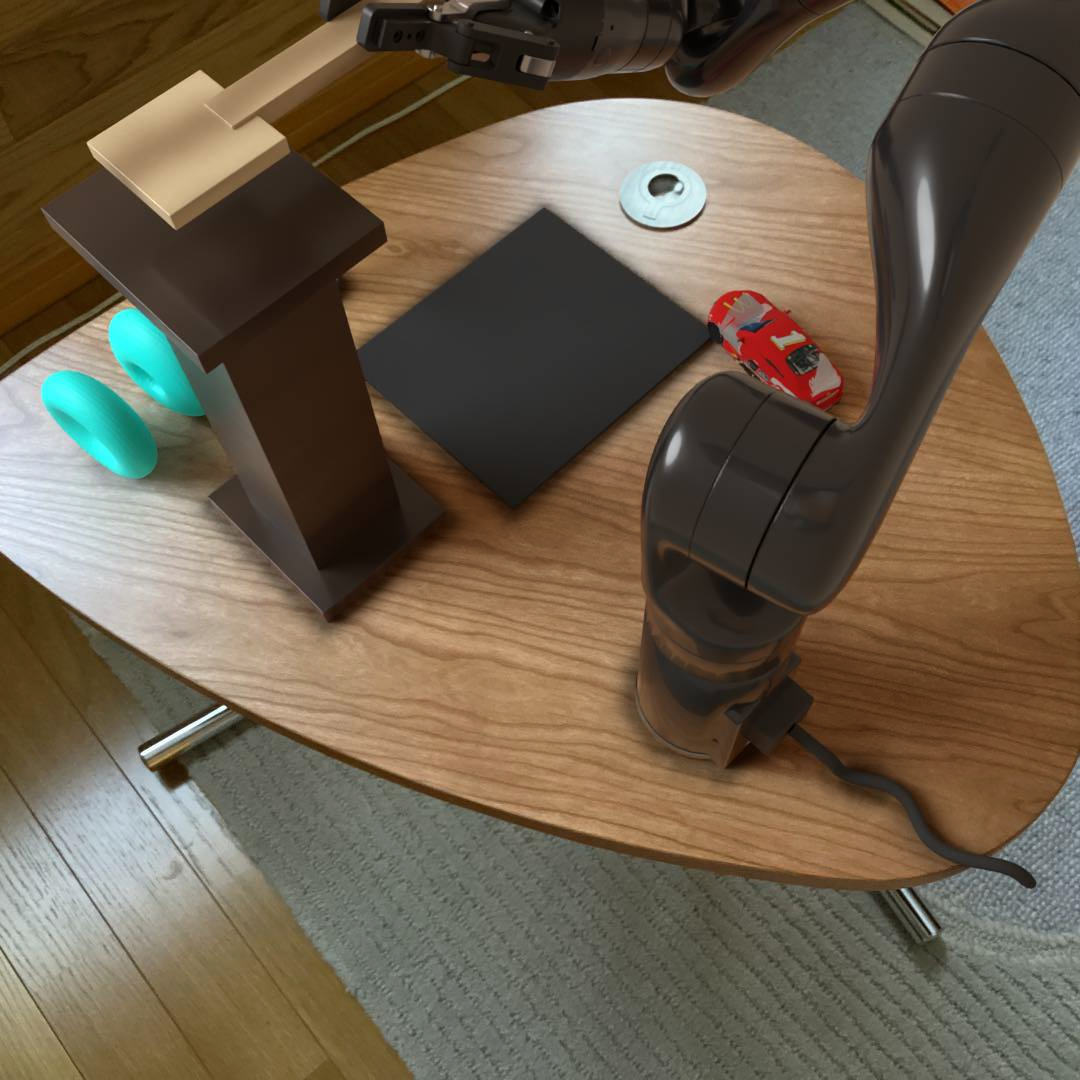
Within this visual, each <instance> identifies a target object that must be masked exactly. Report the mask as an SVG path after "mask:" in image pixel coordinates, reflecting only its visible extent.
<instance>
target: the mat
mask: <svg viewBox="0 0 1080 1080" xmlns="http://www.w3.org/2000/svg"><path fill="white" fill-rule="evenodd" d="M711 340H713V339H712V338H711V336H710V334H709V330H708V327H707V325H705V324H704V323H703V322H701V321H700V320H698V319H697V318H695V317H694V316H693V315H692V314H690V313H689V312H688V311H686V310H685V309H684V308H682V307H680V305H678V304H677V303H675V302H674V301H673V300H671V299H670V298H669V297H667V296H666V295H665V294H663V293H662V292H661V291H660V290H658V289H656V288H655V287H654V286H652V285H651V284H649V282H647V281H645V280H644V279H643V278H642V277H640V276H639V275H637V274H636V273H635V272H634V271H632V270H631V269H629V268H628V267H626V266H625V265H624V264H623V263H621V262H620V261H618V260H617V259H616V258H614V256H612V255H610V254H609V253H608V252H606V251H605V250H603V249H602V248H601V247H599V245H597V244H595V243H594V242H592V240H589V239H588V238H587V237H585V235H583V234H582V233H580V232H579V231H578V230H576V229H575V228H574V227H572V226H571V225H570V224H568V223H567V222H565V221H564V220H563V219H561V218H560V217H559V216H557V215H556V214H555V213H554V212H552V211H550V210H549V209H548V208H546V207H545V206H543V207H542V208H541V209H539V210H538V211H537V212H536V213H534V214H533V215H532V216H530V217H529V218H528V219H526V220H525V221H523V222H522V223H521V224H519V225H518V226H517V227H516V228H514V229H513V230H512V231H511V232H509V233H508V234H507V235H505V236H504V237H503V238H501V239H500V240H499V241H497V242H496V243H494V245H492V246H491V247H489V249H487V250H486V251H485V252H483V253H482V254H481V255H479V256H478V257H476V258H475V259H474V260H473V261H472V262H470V263H469V264H467V265H466V266H465V267H464V268H463V269H461V270H459V271H458V272H457V273H456V274H454V275H453V276H452V277H450V278H449V279H448V280H446V281H445V282H444V283H443V284H441V285H440V286H439V287H438V288H436V289H434V291H432V292H431V293H429V294H428V295H427V296H425V297H424V298H423V299H422V300H421V301H419V302H418V303H416V304H415V305H414V306H413V307H411V308H410V309H409V310H407V311H406V312H405V313H404V314H402V315H401V316H399V317H398V318H397V319H396V320H394V321H393V322H392V323H390V324H389V325H388V326H387V327H385V328H384V329H382V330H381V331H380V332H378V333H377V334H376V335H375V336H373V337H372V338H371V339H369V340H368V341H367V342H365V343H364V344H363V345H362V346H360V347H359V348H358V349H356V351H357V354H358V358H359V361H360V365H361V368H362V372H363V375H364V379H365V382H366V383H367V384H369V386H371V387H372V388H373V389H374V390H376V391H377V392H378V393H379V394H380V395H382V396H383V398H385V399H386V400H387V401H388V402H389V403H390V404H391V405H393V406H394V408H396V409H397V410H398V411H400V412H401V413H402V414H403V415H404V416H405V417H406V418H408V419H409V420H410V421H411V422H412V423H413V424H414V425H415V426H417V428H419V430H421V431H422V432H423V433H424V434H426V435H427V436H428V437H430V439H431V440H433V441H434V442H435V444H437V445H438V446H439V447H440V448H442V449H443V450H444V451H445V452H446V453H448V454H449V456H451V458H453V459H454V460H455V461H456V462H457V463H459V464H460V465H461V467H463V468H464V469H466V470H467V472H469V473H470V474H471V475H472V476H474V478H476V480H478V481H479V482H480V483H481V484H482V485H484V486H485V487H486V488H487V489H488V490H489V491H491V492H492V493H493V494H494V495H495V496H496V497H497V498H499V499H500V500H501V501H502V502H503V503H504V504H505V505H506V506H507V507H509V508H510V509H511V510H512V511H516V510H517V509H518V508H519V507H520V506H521V505H523V504H524V503H525V502H526V501H528V499H530V498H531V497H532V496H533V495H534V494H535V493H536V492H538V491H539V490H540V489H541V488H543V487H544V486H545V485H546V484H547V483H548V482H549V481H550V480H552V479H553V478H554V477H555V476H556V475H557V474H559V472H561V471H562V470H563V469H564V468H566V467H567V465H569V464H570V463H571V462H572V461H573V460H574V459H576V458H577V457H578V456H579V455H581V454H582V452H584V451H585V450H586V449H587V448H588V447H590V446H591V445H592V444H593V443H594V442H595V441H597V440H598V439H599V438H600V437H602V435H603V434H604V433H606V432H607V431H608V430H609V429H610V428H611V427H612V426H614V425H615V424H616V423H617V422H618V421H619V420H621V419H622V418H623V417H624V416H625V415H626V414H627V413H629V412H630V411H631V410H632V409H633V408H635V407H636V406H637V405H638V404H639V403H641V401H643V399H645V398H646V397H647V396H649V394H651V393H652V392H653V391H654V390H655V389H656V388H658V386H660V385H661V384H662V383H663V382H665V380H667V379H668V378H669V377H670V376H671V375H672V374H674V373H675V372H676V371H677V370H678V369H679V368H681V367H682V366H683V365H684V364H685V363H687V361H689V360H690V359H691V358H692V357H694V355H696V354H697V353H698V352H699V351H700V350H701V349H702V348H704V347H705V346H706V345H707V344H708V343H709V342H710V341H711Z"/></svg>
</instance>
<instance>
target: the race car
mask: <svg viewBox="0 0 1080 1080" xmlns="http://www.w3.org/2000/svg"><path fill="white" fill-rule="evenodd" d="M791 311H792V309H786V310H784V311H782V310H781V309H779V308H778V307H777V306H776V305H774V304H773V303H772V302H771V301H770V300H769V299H768V298H767V297H766V296H765V295H763V294H762V293H760V292H758V291H754V290H751V289H750V290H749V289H746V290H745V289H743V290H730V291H728V292H725V293H724V294H722V295H721V296H719V298H717V299H716V300H715V301H714V302H713V304H712V306H711V308H710V311H709V314H708V316H707V321H706V326H707V327H708V330H709V334H710V336H711V338H712V340H713V341H714V343H716V344H717V345H722V348H723V349H724V350H725V351H726V353H727V354H728V355H730V357H732V359H733V361H735V362H736V363H737V364H738V365H739V366H740V367H741V368H742V369H743V370H744V372H746V374H747V375H750V376H752V377H754V378H756V379H758V380H760V381H762V382H764V383H766V384H768V385H770V386H773V387H775V388H777V389H779V390H781V391H784V392H786V393H788V394H790V395H792V396H794V397H796V398H798V399H800V400H803V401H805V402H807V403H809V404H811V405H813V406H815V407H817V408H819V409H821V410H823V411H826V412H829V411H830V410H831V409H832V408H834V407H835V406H837V405H839V404H840V401H841V399H842V397H843V395H844V392H845V390H844V389H845V387H844V385H845V382H844V377H843V374H842V373H841V371H840V370H839V369H838V367H837V366H836V365H835V364H834V363H833V362H832V361H831V360H830V358H829V357H828V356H827V355H826V354H825V353H824V351H823V350H822V349H821V348H820V347H819V346H818V344H816V342H815V341H814V340H813V338H811V336H810V335H809V334H807V333H806V332H805V330H803V329H802V328H801V327H800V325H798V323H797V322H796V321H795V320H794V319H793V318H791V317H790V316H789V314H790V313H791Z"/></svg>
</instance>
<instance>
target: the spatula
mask: <svg viewBox="0 0 1080 1080" xmlns="http://www.w3.org/2000/svg"><path fill="white" fill-rule="evenodd" d="M371 2H376V3H418V4H419V5H421V6H422V7H424V8H425V9H426V6H427V4H428V3H441V2H445V0H361V1H360V2H358V3H357V4H355V5H354V6H352V7H351V8H349V9H348V10H346V11H345V12H343V13H341V14H340V15H338V16H337V17H335V18H334V19H332V20H331V21H329V22H327V21H326V23H324V24H323V25H321V26H320V27H318V28H317V29H315V30H313V31H312V32H310V33H309V34H307V35H305V36H304V37H303V38H301V39H300V40H298V41H297V42H295V43H294V44H292V45H291V46H289V47H287V48H286V49H284V50H283V51H281V52H280V53H278V54H277V55H275V56H274V57H272V58H270V59H269V60H267V61H266V62H264V63H263V64H261V65H260V66H258V67H257V68H254V70H252V71H250V72H249V73H247V74H246V75H244V76H243V77H241V78H240V79H238V80H237V81H235V82H233V83H232V84H231V85H229V86H227V87H226V88H224V87H223V86H222V85H221V84H219V83H218V82H217V81H215V80H214V79H213V78H212V77H210V76H209V75H208V74H206V73H205V72H204V71H203V70H202V69H199V70H197V71H196V72H194V73H192V74H191V75H190V76H188V77H187V78H185V79H183V80H182V81H180V82H179V83H177V84H175V85H174V86H173V87H171V88H169V89H168V90H166V91H164V92H163V93H161V94H160V95H158V96H156V97H155V98H154V99H152V100H150V101H149V102H148V103H146V104H144V105H143V106H141V107H139V108H138V109H136V110H135V111H133V112H132V113H130V114H128V115H127V116H126V117H123V118H122V119H121V120H118V121H117V122H115V124H113V125H111V126H110V127H108V128H106V129H105V130H103V131H101V132H100V133H98V134H97V135H96V136H94V137H93V138H90V139H89V140H88V141H86V144H87V147H88V149H89V151H90V153H91V155H92V157H93V158H94V159H95V160H96V161H97V162H98V163H100V165H102V166H103V167H105V168H106V169H107V170H109V171H110V172H111V173H112V174H113V175H114V176H115V177H117V178H118V179H119V180H120V181H121V182H122V183H123V184H124V185H126V186H127V187H128V188H129V189H130V190H131V191H132V192H133V193H135V194H136V195H137V196H138V197H139V198H140V199H141V200H142V201H144V202H145V203H146V204H147V205H148V206H149V207H150V208H152V209H153V210H154V211H155V212H156V213H157V214H158V215H159V216H161V217H162V218H163V219H164V220H165V221H166V222H167V223H168V224H170V225H171V226H172V227H173V228H174V229H175V230H178V229H180V228H181V227H182V226H184V225H185V224H187V223H188V222H190V221H191V220H193V219H194V218H196V217H197V216H198V215H200V214H201V213H203V212H204V211H206V210H207V209H209V208H210V207H212V206H213V205H215V204H216V203H217V202H219V201H220V200H222V199H223V198H225V197H226V196H228V195H229V194H231V193H232V192H233V191H235V190H236V189H238V188H239V187H241V186H242V185H244V184H245V183H247V182H248V181H250V180H251V179H252V178H254V177H255V176H257V175H258V174H260V173H261V172H263V171H264V170H266V169H267V168H268V167H270V166H271V165H273V164H274V163H276V162H277V161H279V160H280V159H282V158H283V157H285V156H286V155H287V154H289V153H290V149H289V146H290V145H289V146H288V144H289V142H288V139H287V137H286V136H285V135H284V134H282V133H281V132H280V131H279V130H277V129H276V128H275V127H274V126H272V125H271V124H272V123H274V122H275V121H277V120H278V119H280V118H282V117H283V116H285V115H286V114H287V113H289V112H291V111H292V110H294V109H295V108H296V107H298V106H300V105H301V104H302V103H304V102H306V101H307V100H308V99H310V98H312V97H313V96H314V95H316V94H317V93H319V92H320V91H322V90H323V89H325V88H326V87H327V86H329V85H330V84H332V83H333V82H335V81H337V80H338V79H339V78H341V77H343V76H344V75H346V74H347V73H349V72H350V71H352V70H353V69H354V68H356V67H357V66H360V64H362V63H364V62H365V61H367V60H368V59H369V58H371V57H372V56H374V55H375V54H376V53H378V52H368V51H367V50H365V49H364V48H363V47H361V46H360V45H359V44H358V43H357V41H356V36H357V32H358V28H359V23H360V19H361V15H362V11H363V9H364V7H365V6H366V5H367V4H368V3H371Z"/></svg>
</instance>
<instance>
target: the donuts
mask: <svg viewBox="0 0 1080 1080" xmlns="http://www.w3.org/2000/svg"><path fill="white" fill-rule="evenodd" d="M108 341H109V345H110V348H111V350H112V353H113V355H114V357H115V358H116V360H117V362H118V363H119V365H120V366H121V368H122V369H123V370H124V372H125V373H126V374H127V375H128V377H130V379H131V380H132V381H133V382H134V383H135V384H136V385H137V386H138V387H139V388H140V389H141V390H142V391H143V392H144V393H145V394H147V395H148V396H149V397H150V398H151V399H153V400H154V401H156V402H157V403H158V404H160V405H161V406H163V407H164V408H166V409H168V410H170V411H172V412H174V413H177V414H179V415H183V416H187V417H202V416H206V414H205V412H204V410H203V409H202V407H201V405H200V403H199V401H198V399H197V397H196V395H195V393H194V391H193V389H192V387H191V385H190V383H189V381H188V379H187V377H186V375H185V374H184V372H183V370H182V368H181V366H180V364H179V362H178V360H177V358H176V356H175V354H174V352H173V350H172V348H171V346H170V344H169V342H168V340H167V339H166V337H165V335H164V334H163V333H162V332H161V331H160V330H159V329H158V328H157V327H156V326H155V325H154V324H153V323H152V322H151V321H150V320H149V319H148V318H146V317H145V316H144V315H143V314H142V313H141V312H140V311H139V310H138V309H137V308H136V307H132V308H131V307H130V308H125V309H123V310H120V311H119V312H117V313H116V314H115V315H114V316H113V318H112V319H111V320H110V322H109V326H108ZM40 394H41V401H42V403H43V405H44V407H45V409H46V411H47V412H48V413H49V415H50V417H52V419H53V420H54V421H55V423H56V424H57V425H58V426H59V427H60V428H61V429H62V431H63V432H65V434H67V435H68V436H69V438H70V439H72V441H74V443H76V444H77V445H78V446H79V447H80V448H81V449H82V450H83V451H85V452H86V453H87V454H88V455H89V456H91V457H92V458H93V459H94V460H95V461H97V462H98V463H99V464H100V465H102V466H103V467H105V468H106V469H108V470H109V471H111V472H113V473H115V474H117V475H119V476H121V477H123V478H126V479H132V480H137V479H138V480H139V479H142V478H145V477H146V476H148V475H150V474H151V473H152V472H153V471H154V469H155V467H156V466H157V463H158V456H159V454H158V446H157V443H156V440H155V438H154V435H153V433H152V432H151V429H150V428H149V426H148V425H147V424H146V422H145V421H144V420H143V418H142V417H141V416H140V415H139V414H138V413H137V411H135V409H134V408H133V407H132V406H131V405H130V403H128V402H126V400H125V399H124V398H123V397H121V396H120V395H119V394H118V393H117V392H115V391H114V390H113V389H111V388H110V387H109V386H108V385H106V384H105V383H103V382H101V381H100V380H98V379H96V378H95V377H93V376H91V375H88V374H86V373H83V372H80V371H76V370H67V369H66V370H59V371H55V372H53V373H52V374H50V375H48V376H47V377H46V379H45V380H44V381H43V383H42V385H41V388H40Z"/></svg>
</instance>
